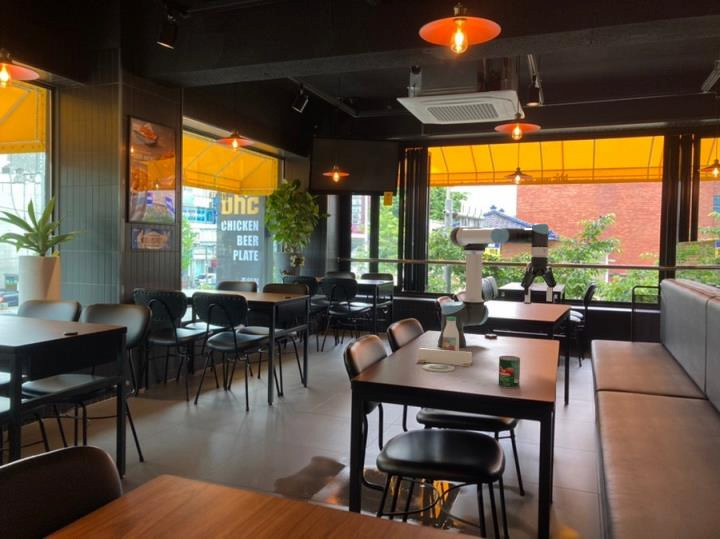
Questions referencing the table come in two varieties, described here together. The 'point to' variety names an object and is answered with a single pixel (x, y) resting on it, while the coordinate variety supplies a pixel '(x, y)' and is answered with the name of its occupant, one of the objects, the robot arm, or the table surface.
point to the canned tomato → (509, 371)
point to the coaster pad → (439, 367)
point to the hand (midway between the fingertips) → (538, 301)
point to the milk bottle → (451, 335)
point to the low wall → (445, 357)
